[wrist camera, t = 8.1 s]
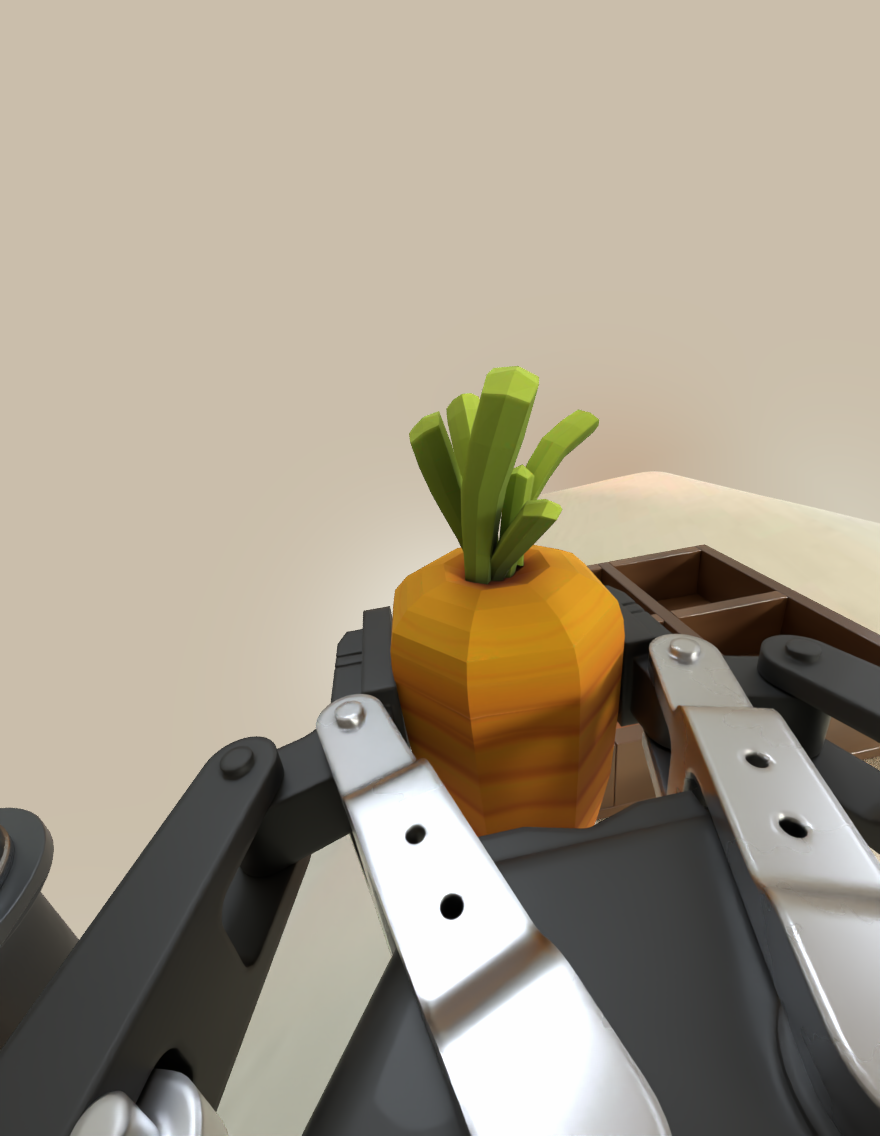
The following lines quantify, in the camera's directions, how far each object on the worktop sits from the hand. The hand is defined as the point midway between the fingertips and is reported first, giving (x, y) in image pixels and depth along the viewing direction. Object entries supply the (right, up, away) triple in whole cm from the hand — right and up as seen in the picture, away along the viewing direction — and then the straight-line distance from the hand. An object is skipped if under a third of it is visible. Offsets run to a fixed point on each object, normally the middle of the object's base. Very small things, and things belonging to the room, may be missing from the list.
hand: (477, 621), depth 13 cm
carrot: (+1, -9, +1) cm, 9 cm away
